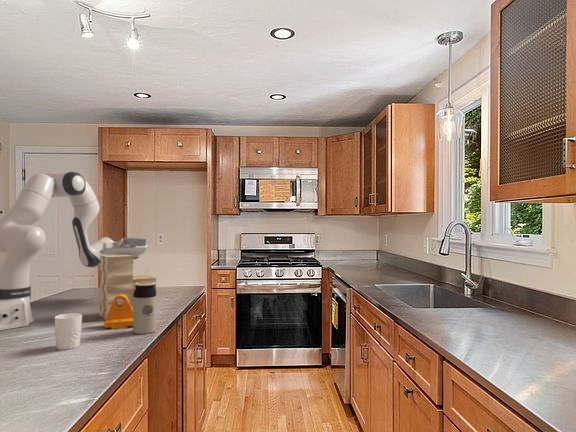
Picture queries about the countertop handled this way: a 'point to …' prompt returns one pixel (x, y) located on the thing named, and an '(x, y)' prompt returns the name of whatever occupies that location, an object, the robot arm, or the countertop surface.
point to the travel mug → (144, 308)
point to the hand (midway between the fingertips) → (129, 240)
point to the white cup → (68, 330)
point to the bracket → (119, 314)
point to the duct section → (135, 241)
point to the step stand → (118, 280)
